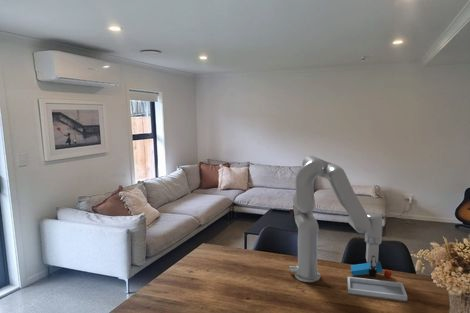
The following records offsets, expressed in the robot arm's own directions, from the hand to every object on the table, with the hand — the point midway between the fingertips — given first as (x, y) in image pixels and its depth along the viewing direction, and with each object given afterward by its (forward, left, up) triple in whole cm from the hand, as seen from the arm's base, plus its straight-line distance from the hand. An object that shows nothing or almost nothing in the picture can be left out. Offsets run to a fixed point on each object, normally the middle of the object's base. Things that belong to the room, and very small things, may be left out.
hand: (371, 272), depth 165 cm
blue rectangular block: (0, 0, -1) cm, 1 cm away
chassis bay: (0, -15, -1) cm, 15 cm away
